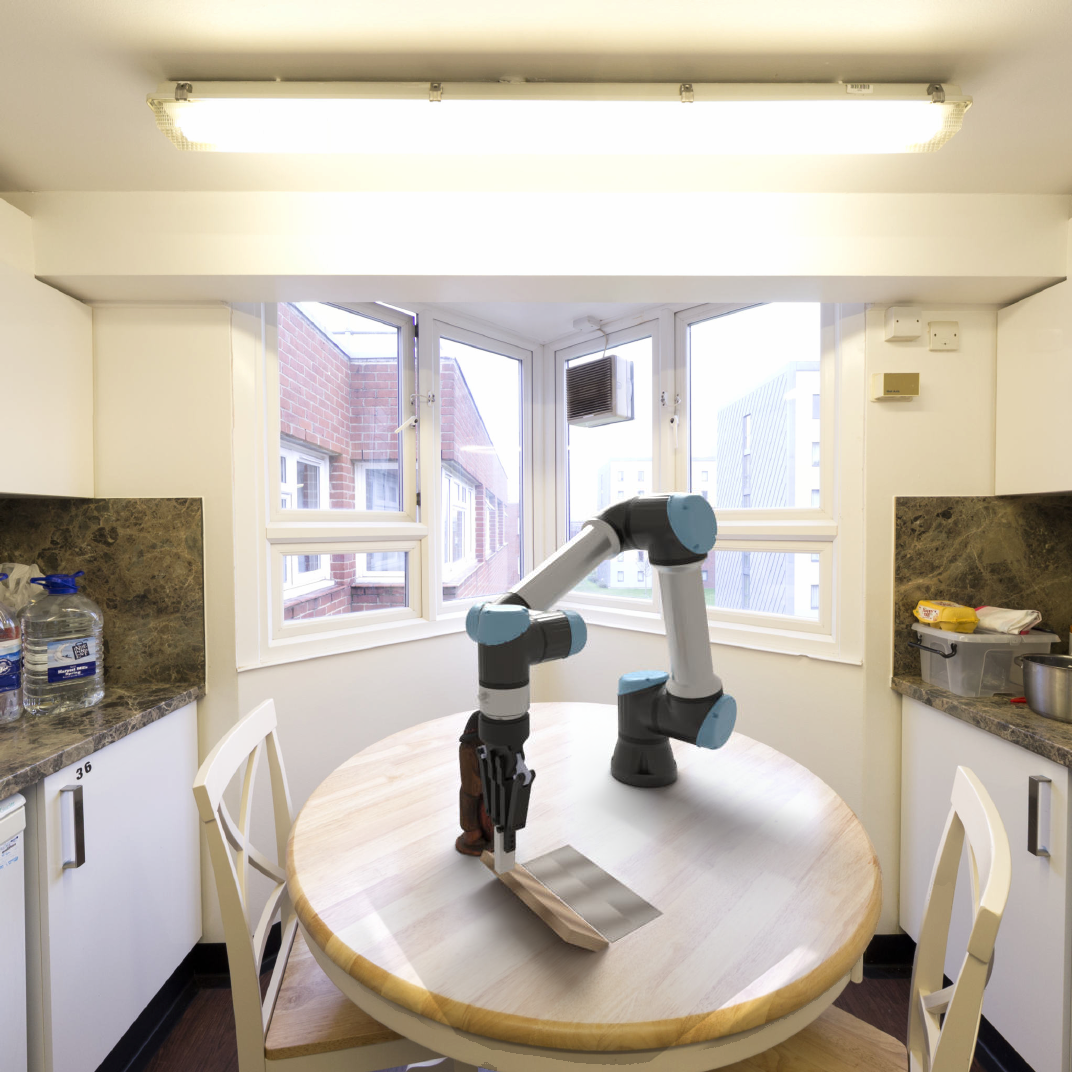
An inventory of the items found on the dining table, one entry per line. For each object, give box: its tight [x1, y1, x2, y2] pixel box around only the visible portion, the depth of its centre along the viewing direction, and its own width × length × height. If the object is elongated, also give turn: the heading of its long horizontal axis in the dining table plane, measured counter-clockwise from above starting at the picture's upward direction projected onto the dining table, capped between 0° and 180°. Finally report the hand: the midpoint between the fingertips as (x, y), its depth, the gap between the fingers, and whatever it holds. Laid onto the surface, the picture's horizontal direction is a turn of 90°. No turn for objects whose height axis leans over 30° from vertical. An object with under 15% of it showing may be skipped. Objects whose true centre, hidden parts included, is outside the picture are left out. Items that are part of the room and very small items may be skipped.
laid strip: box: [520, 844, 664, 944], centre depth 91 cm, size 22×10×2 cm, turn 35°
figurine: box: [455, 709, 494, 857], centre depth 103 cm, size 10×8×25 cm
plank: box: [479, 850, 610, 953], centre depth 85 cm, size 22×8×2 cm
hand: (504, 868), depth 86 cm, fingers closed
